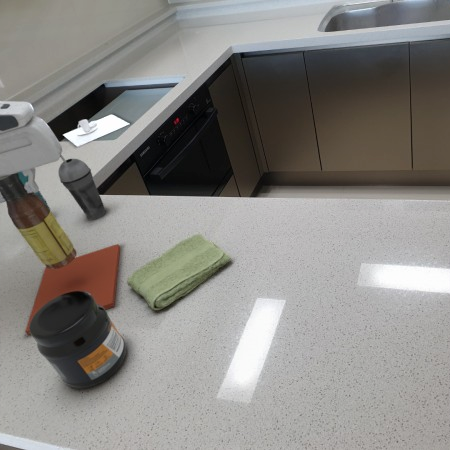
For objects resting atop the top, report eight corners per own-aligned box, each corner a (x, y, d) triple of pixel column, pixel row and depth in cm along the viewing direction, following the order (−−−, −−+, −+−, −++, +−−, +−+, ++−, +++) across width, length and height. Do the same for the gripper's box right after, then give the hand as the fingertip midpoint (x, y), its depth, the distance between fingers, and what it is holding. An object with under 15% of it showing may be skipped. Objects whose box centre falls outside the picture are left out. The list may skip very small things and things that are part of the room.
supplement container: (140, 355, 75) (108, 303, 68) (82, 403, 69) (40, 352, 62) (110, 328, 81) (78, 279, 74) (54, 370, 76) (14, 321, 69)
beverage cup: (117, 208, 117) (80, 137, 106) (94, 224, 113) (53, 152, 101) (99, 204, 121) (62, 135, 110) (76, 220, 116) (35, 149, 105)
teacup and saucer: (96, 124, 176) (91, 114, 174) (103, 128, 171) (98, 117, 168) (74, 133, 173) (69, 123, 170) (80, 137, 167) (75, 127, 165)
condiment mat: (28, 335, 84) (25, 331, 84) (47, 270, 100) (45, 266, 100) (114, 306, 86) (112, 302, 85) (120, 247, 102) (118, 243, 102)
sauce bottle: (66, 247, 93) (12, 161, 82) (84, 253, 90) (31, 164, 78) (37, 268, 89) (-23, 180, 77) (56, 275, 86) (-4, 184, 74)
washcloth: (236, 261, 90) (231, 249, 88) (158, 317, 81) (151, 304, 79) (200, 239, 98) (195, 227, 96) (126, 287, 90) (119, 275, 88)
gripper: (-106, 150, 69) (-48, 224, 77) (31, 111, 71) (74, 187, 79) (-88, 135, 74) (-36, 205, 82) (39, 99, 76) (78, 171, 84)
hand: (19, 196), depth 81 cm, fingers closed on sauce bottle, 4 cm apart
